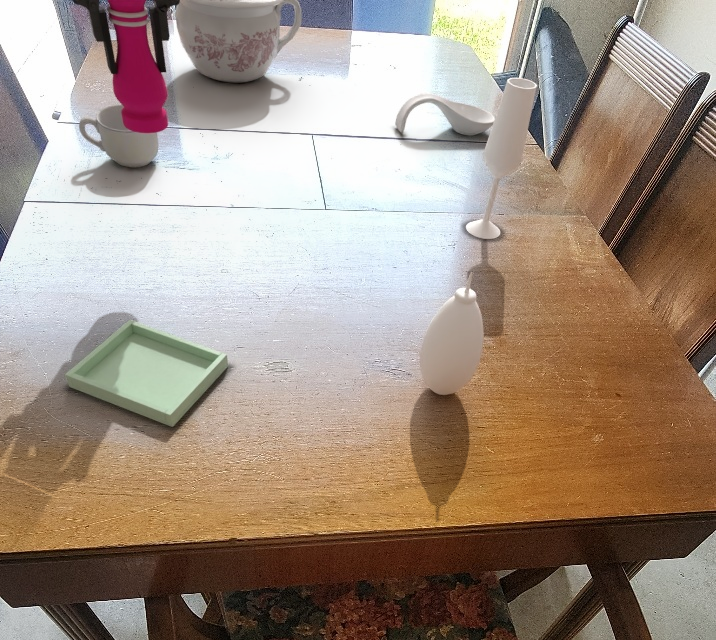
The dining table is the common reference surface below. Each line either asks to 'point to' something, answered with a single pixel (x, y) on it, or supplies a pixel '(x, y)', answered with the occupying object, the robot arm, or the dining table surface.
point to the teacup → (120, 138)
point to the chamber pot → (233, 36)
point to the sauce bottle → (453, 343)
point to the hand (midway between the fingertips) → (137, 69)
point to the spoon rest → (450, 114)
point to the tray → (148, 372)
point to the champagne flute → (505, 145)
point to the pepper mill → (137, 69)
